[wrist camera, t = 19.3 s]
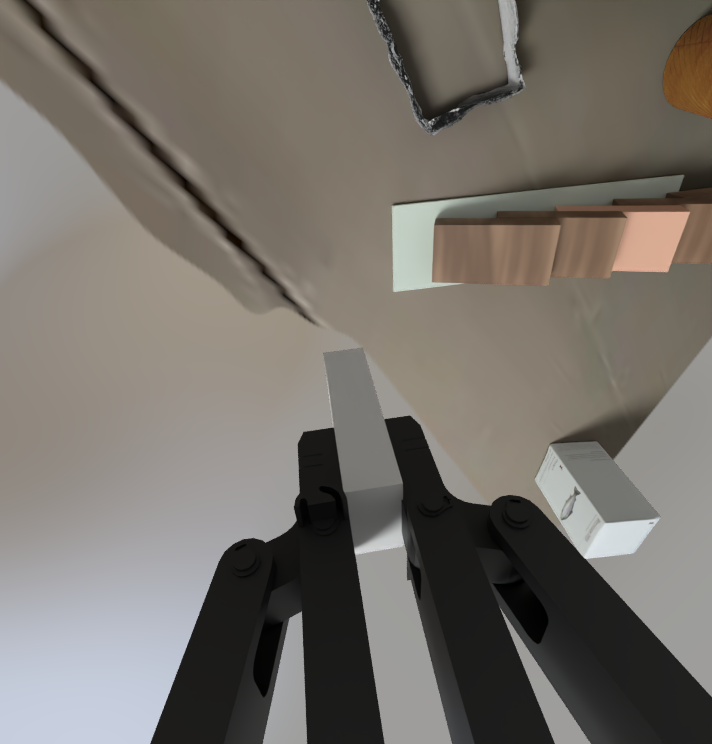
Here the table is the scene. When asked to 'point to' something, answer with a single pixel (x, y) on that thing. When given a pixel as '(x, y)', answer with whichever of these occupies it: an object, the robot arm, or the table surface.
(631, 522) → the supplement box
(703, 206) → the domino
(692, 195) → the domino
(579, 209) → the domino
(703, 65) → the disposable coffee cup
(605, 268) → the domino
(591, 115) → the table surface
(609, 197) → the runner
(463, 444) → the table surface
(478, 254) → the domino
